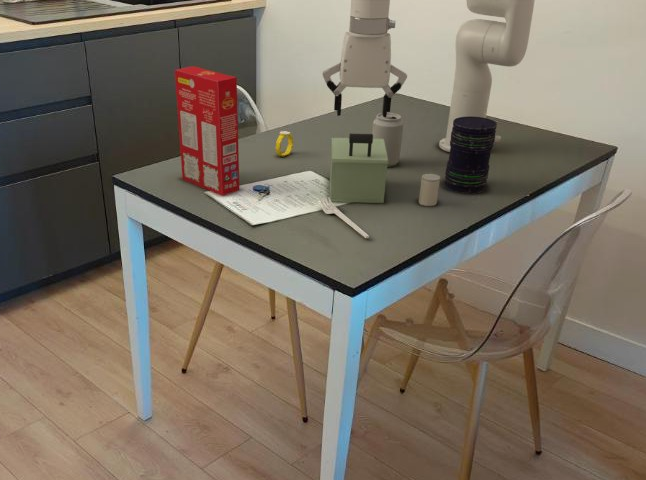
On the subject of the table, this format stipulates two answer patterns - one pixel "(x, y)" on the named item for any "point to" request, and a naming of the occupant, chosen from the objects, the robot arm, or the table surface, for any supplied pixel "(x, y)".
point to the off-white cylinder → (429, 189)
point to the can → (389, 135)
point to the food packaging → (208, 129)
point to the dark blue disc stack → (469, 154)
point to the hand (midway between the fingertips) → (361, 114)
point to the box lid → (359, 149)
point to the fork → (340, 215)
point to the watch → (279, 140)
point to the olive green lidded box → (357, 182)
